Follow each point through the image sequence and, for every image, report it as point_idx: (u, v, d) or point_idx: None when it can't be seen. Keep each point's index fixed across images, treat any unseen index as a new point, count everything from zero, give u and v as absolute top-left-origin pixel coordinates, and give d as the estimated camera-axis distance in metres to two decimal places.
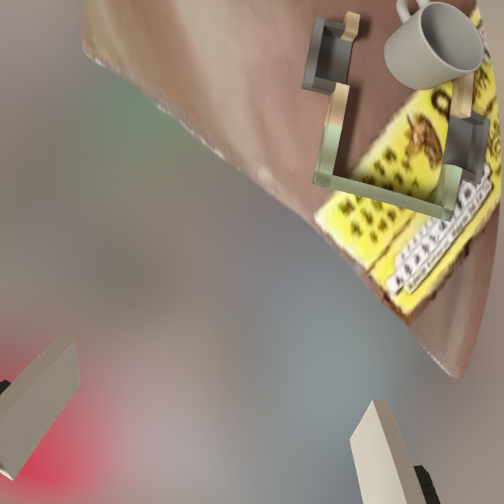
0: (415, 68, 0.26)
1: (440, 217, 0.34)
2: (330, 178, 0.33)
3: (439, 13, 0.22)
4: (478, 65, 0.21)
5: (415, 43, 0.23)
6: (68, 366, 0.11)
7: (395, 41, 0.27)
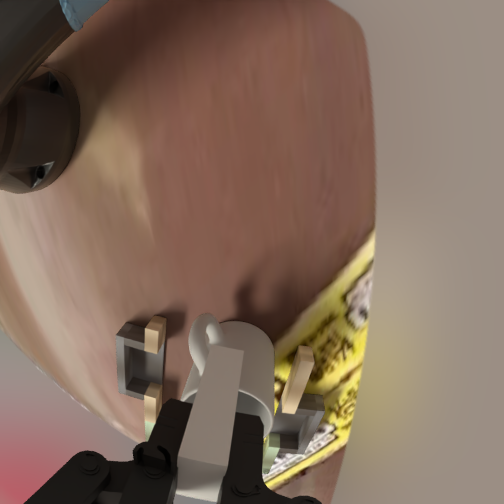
0: None
1: None
2: None
3: None
4: None
5: None
6: None
7: None
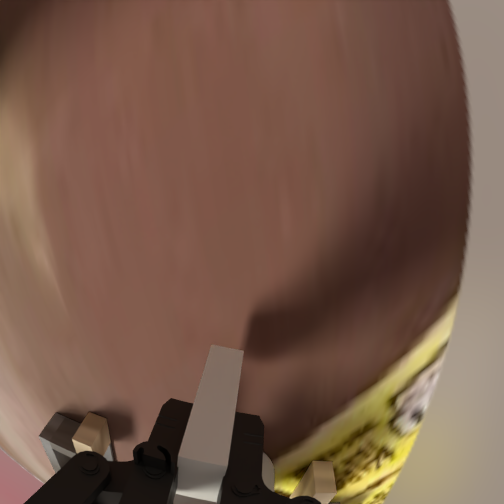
0: None
1: None
2: None
3: None
4: None
5: None
6: None
7: None
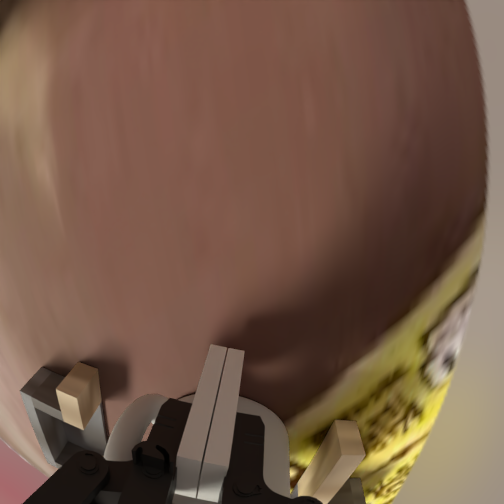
0: None
1: None
2: None
3: None
4: None
5: None
6: (221, 374, 0.13)
7: None
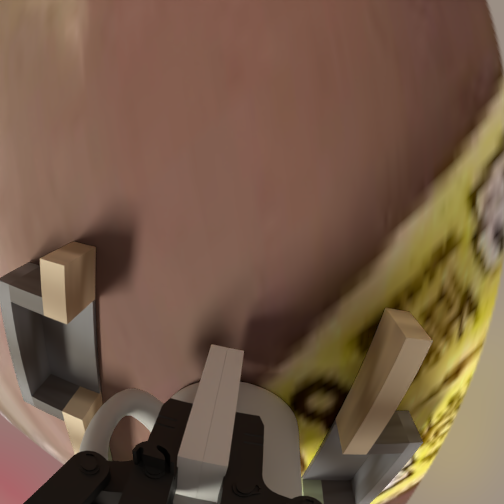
0: None
1: None
2: None
3: None
4: None
5: None
6: None
7: None
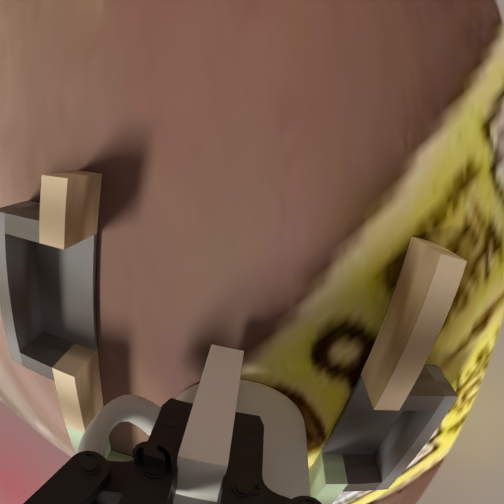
0: None
1: None
2: None
3: None
4: None
5: None
6: None
7: None
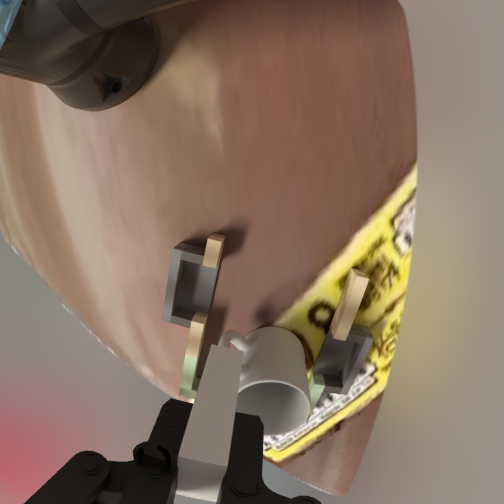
0: None
1: None
2: (190, 392, 0.39)
3: None
4: (305, 419, 0.29)
5: None
6: None
7: None
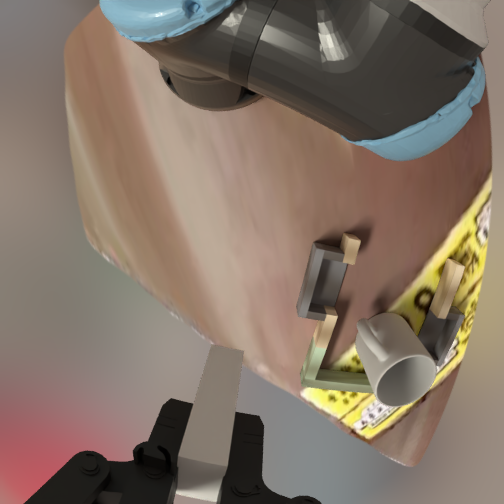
0: None
1: None
2: (313, 381, 0.42)
3: None
4: (430, 386, 0.32)
5: None
6: None
7: None
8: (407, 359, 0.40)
